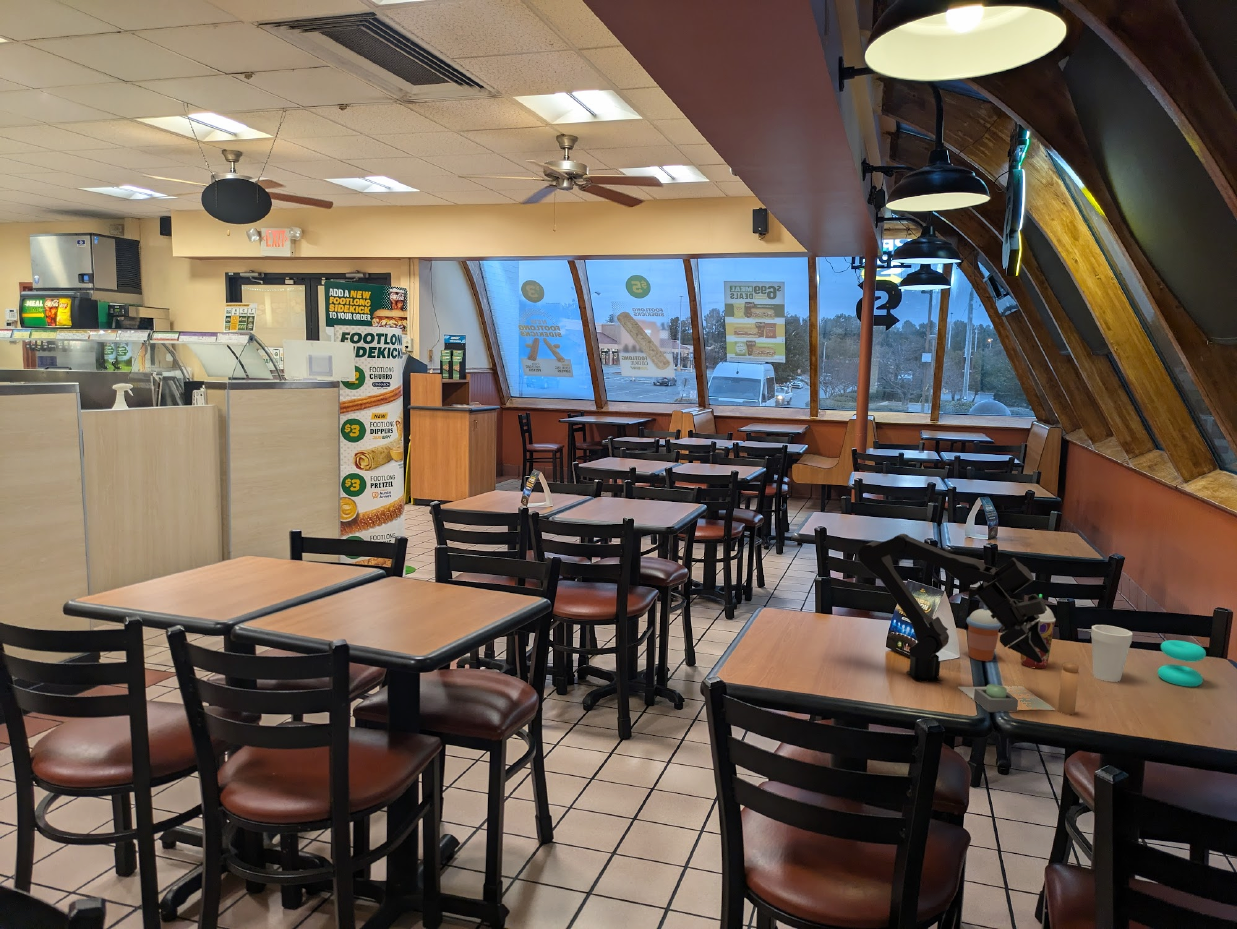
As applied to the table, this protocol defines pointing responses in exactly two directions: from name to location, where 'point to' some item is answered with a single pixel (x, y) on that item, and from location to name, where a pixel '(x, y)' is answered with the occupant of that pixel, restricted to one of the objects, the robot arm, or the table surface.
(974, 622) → the cup with straw
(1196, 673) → the donuts
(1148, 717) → the table surface
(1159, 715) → the table surface
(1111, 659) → the foam cup
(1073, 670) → the tan cylindrical piece
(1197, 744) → the table surface
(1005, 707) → the sheet
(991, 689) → the button
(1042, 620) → the smoothie
